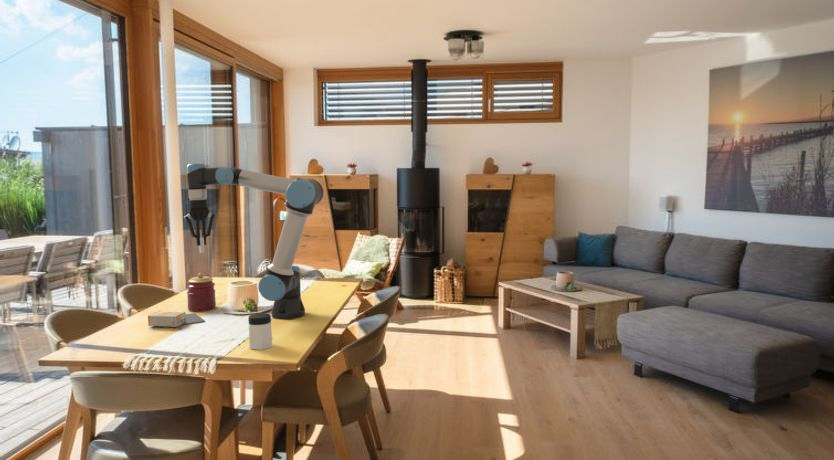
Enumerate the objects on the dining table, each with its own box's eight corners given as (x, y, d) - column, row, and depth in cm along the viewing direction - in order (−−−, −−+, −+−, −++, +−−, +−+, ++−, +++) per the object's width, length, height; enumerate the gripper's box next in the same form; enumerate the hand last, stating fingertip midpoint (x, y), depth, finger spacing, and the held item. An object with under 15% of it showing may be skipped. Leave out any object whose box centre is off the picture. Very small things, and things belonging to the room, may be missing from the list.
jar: (264, 341, 227) (263, 311, 226) (277, 345, 222) (276, 314, 220) (244, 347, 220) (243, 316, 219) (257, 351, 215) (255, 319, 214)
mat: (205, 321, 259) (205, 320, 258) (164, 328, 249) (163, 326, 249) (194, 314, 273) (194, 312, 273) (155, 319, 264) (155, 318, 264)
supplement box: (148, 326, 250) (175, 327, 248) (147, 315, 250) (175, 316, 248) (159, 321, 258) (186, 322, 256) (159, 310, 258) (186, 311, 256)
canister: (214, 304, 292) (212, 269, 291) (217, 310, 281) (215, 273, 279) (186, 307, 287) (184, 272, 285) (188, 313, 275) (186, 276, 273)
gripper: (210, 198, 262) (214, 250, 264) (180, 199, 254) (184, 253, 257) (215, 198, 256) (219, 251, 258) (184, 200, 248) (189, 255, 250)
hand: (202, 252), depth 257 cm, fingers closed
